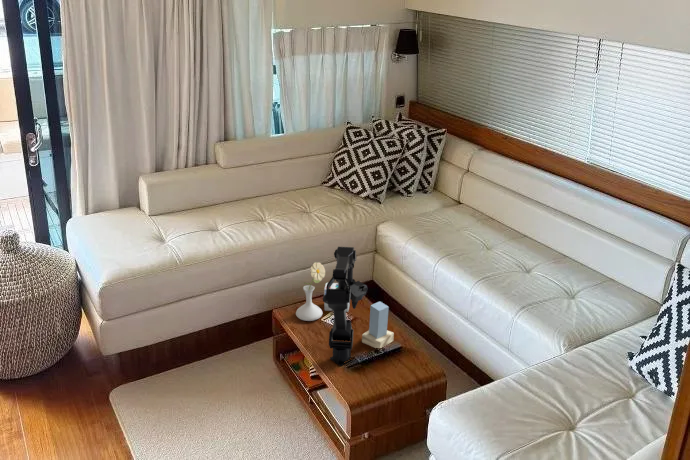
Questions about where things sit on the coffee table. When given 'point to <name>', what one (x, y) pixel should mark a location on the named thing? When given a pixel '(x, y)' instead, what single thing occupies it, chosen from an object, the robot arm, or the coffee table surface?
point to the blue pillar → (378, 319)
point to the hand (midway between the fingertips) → (345, 312)
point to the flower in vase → (310, 309)
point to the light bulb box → (333, 286)
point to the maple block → (375, 342)
